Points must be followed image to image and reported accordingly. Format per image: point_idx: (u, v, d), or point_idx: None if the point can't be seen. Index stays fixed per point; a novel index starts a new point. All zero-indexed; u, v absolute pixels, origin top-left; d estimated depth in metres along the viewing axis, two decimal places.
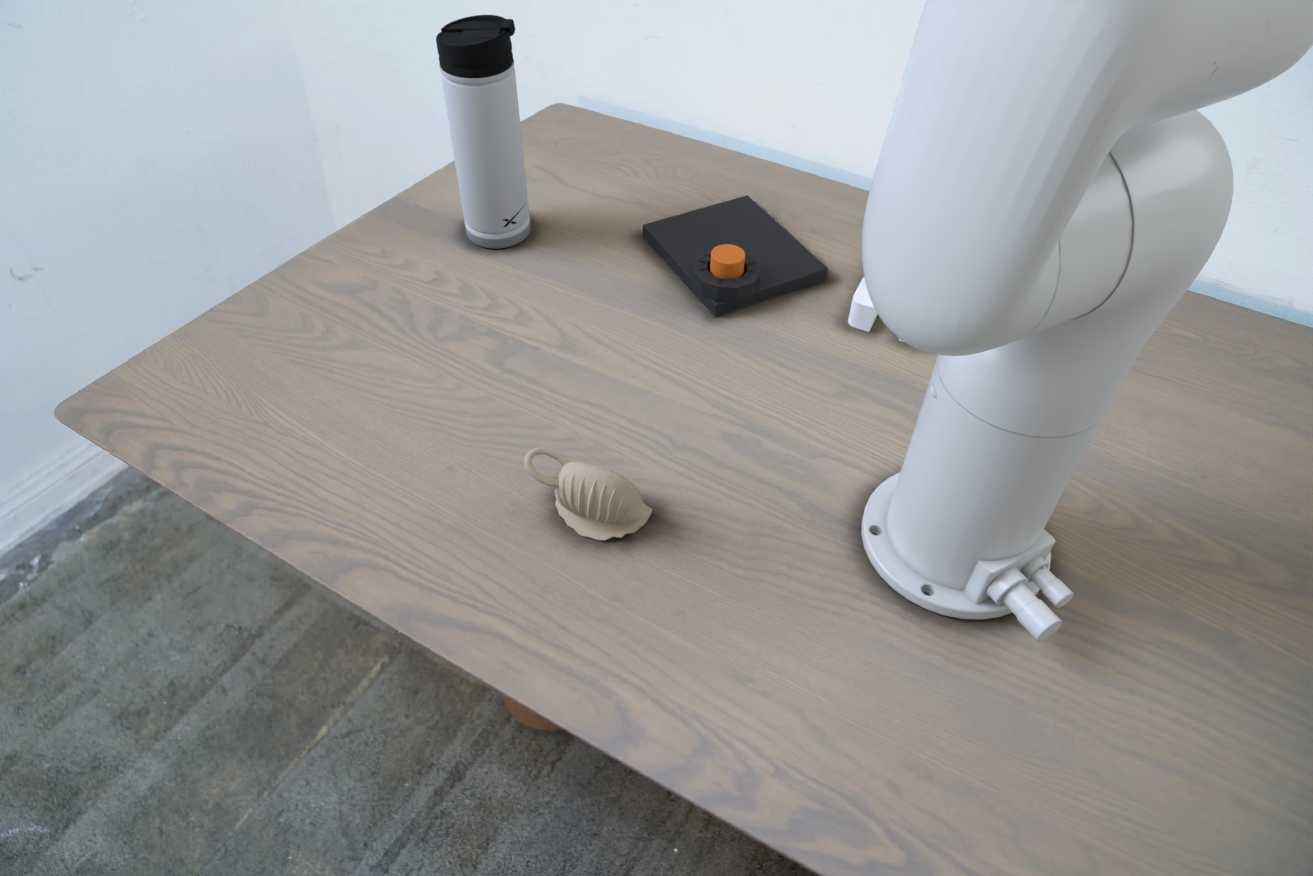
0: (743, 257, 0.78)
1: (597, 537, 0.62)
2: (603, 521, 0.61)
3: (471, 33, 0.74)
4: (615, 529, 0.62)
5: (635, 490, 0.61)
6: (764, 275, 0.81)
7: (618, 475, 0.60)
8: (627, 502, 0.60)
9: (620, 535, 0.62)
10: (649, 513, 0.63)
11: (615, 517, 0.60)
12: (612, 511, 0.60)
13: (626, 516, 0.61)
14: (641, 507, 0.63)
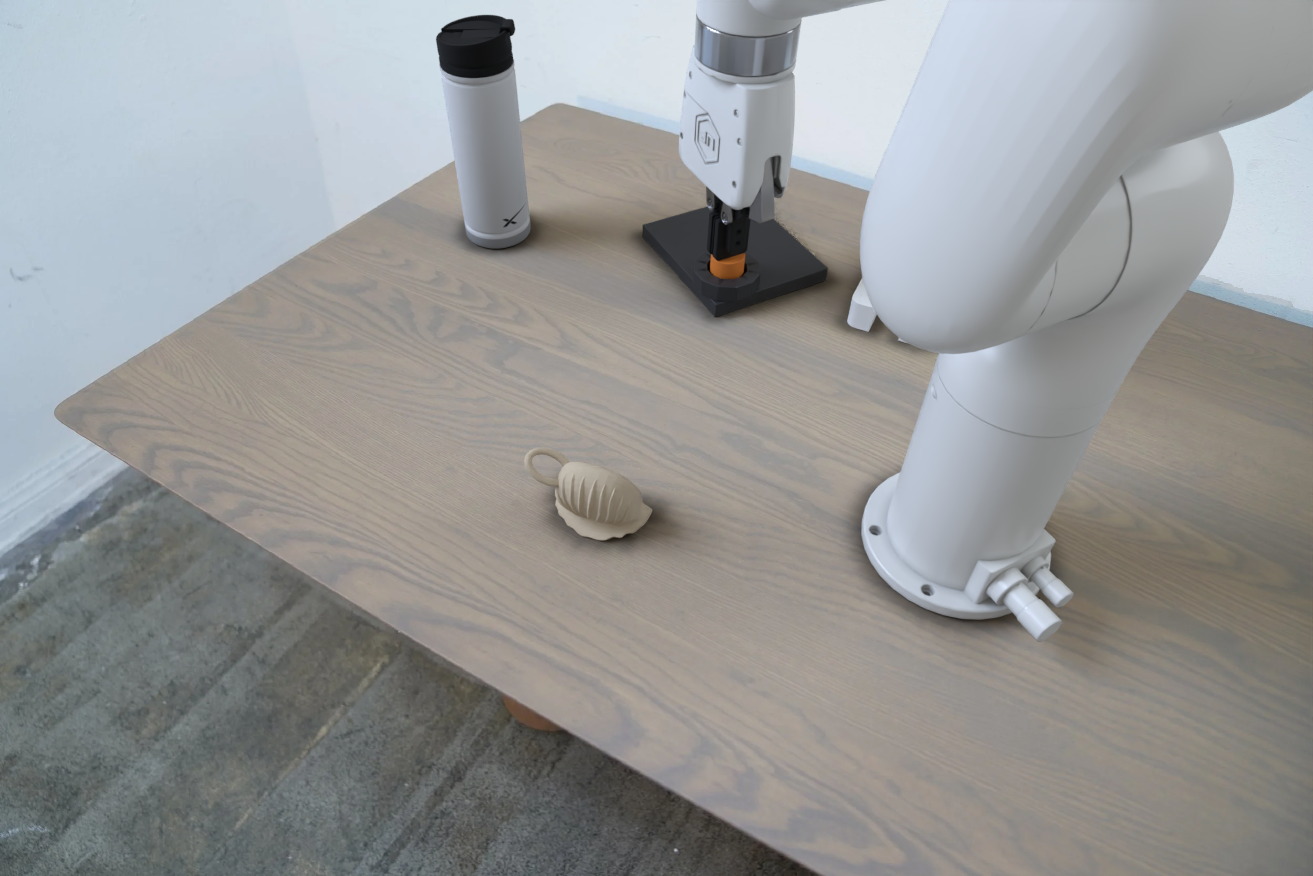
0: (743, 257, 0.78)
1: (597, 537, 0.62)
2: (603, 521, 0.61)
3: (471, 33, 0.74)
4: (615, 529, 0.62)
5: (635, 490, 0.61)
6: (764, 275, 0.81)
7: (618, 475, 0.60)
8: (627, 502, 0.60)
9: (620, 535, 0.62)
10: (649, 513, 0.63)
11: (615, 517, 0.60)
12: (612, 511, 0.60)
13: (626, 516, 0.61)
14: (641, 507, 0.63)
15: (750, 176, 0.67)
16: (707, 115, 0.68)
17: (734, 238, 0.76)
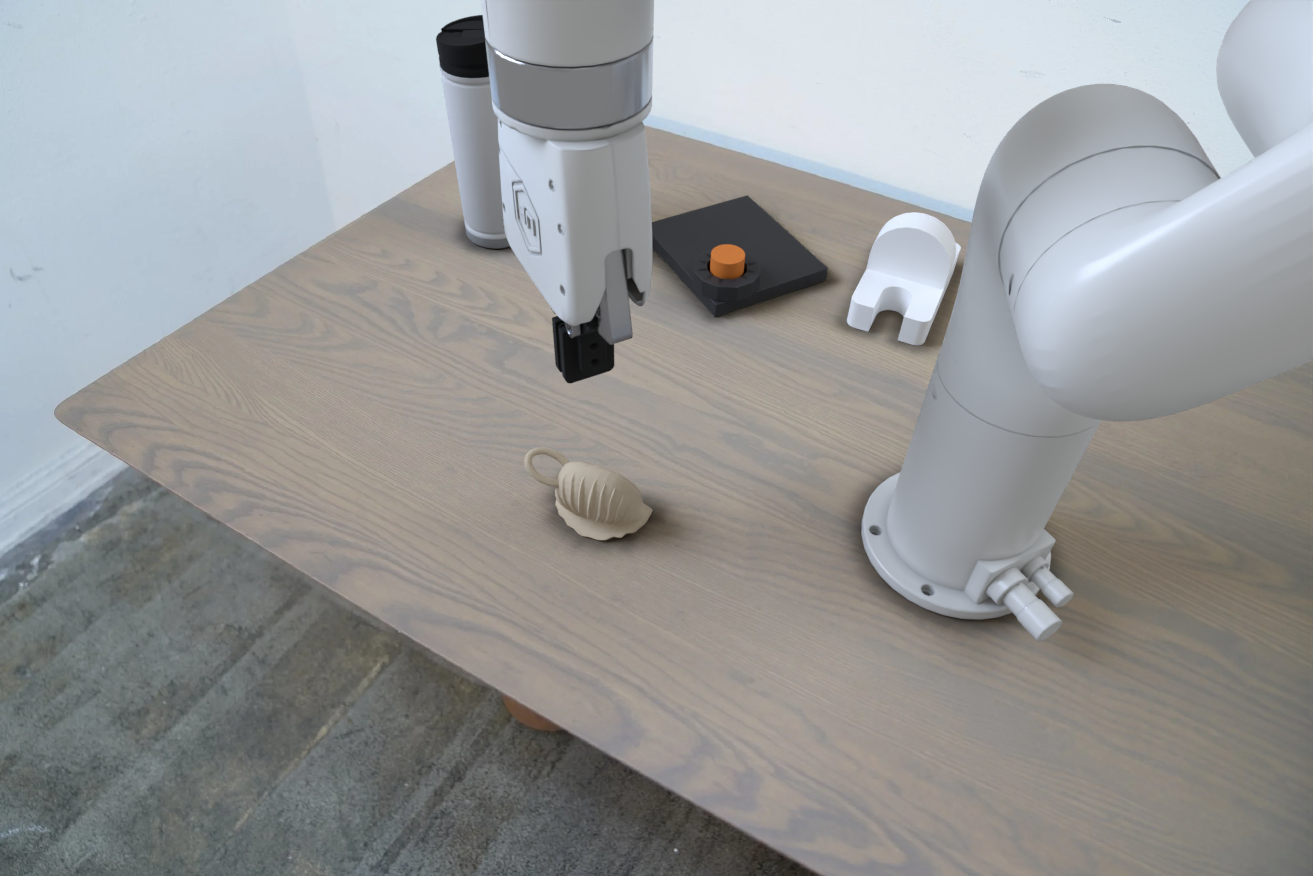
0: (743, 257, 0.78)
1: (597, 537, 0.62)
2: (603, 521, 0.61)
3: (471, 33, 0.74)
4: (615, 529, 0.62)
5: (635, 490, 0.61)
6: (764, 275, 0.81)
7: (618, 475, 0.60)
8: (627, 502, 0.60)
9: (620, 535, 0.62)
10: (649, 513, 0.63)
11: (615, 517, 0.60)
12: (612, 511, 0.60)
13: (626, 516, 0.61)
14: (641, 507, 0.63)
15: (583, 280, 0.43)
16: (522, 184, 0.44)
17: (588, 355, 0.52)
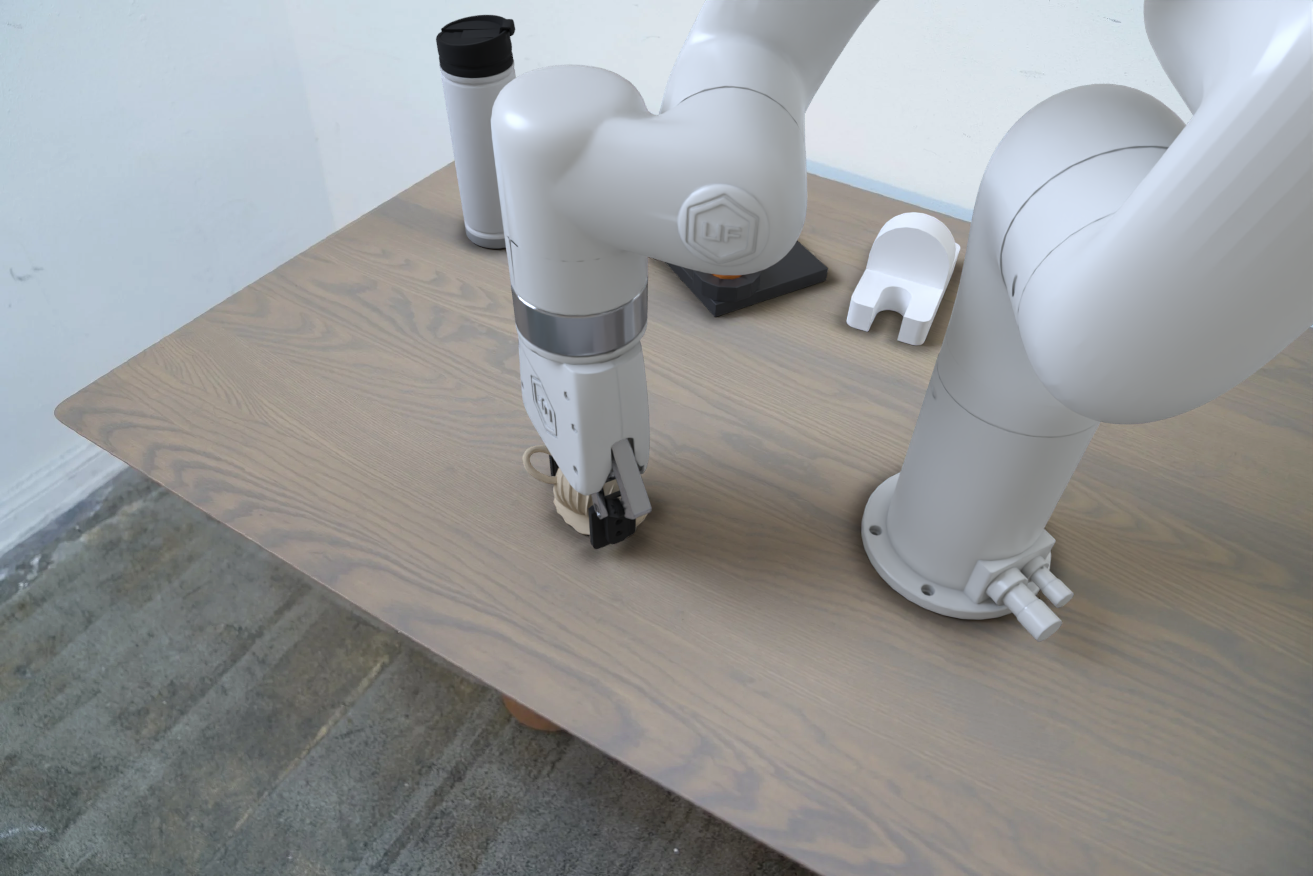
0: None
1: None
2: None
3: (471, 33, 0.74)
4: None
5: None
6: (764, 275, 0.81)
7: None
8: None
9: None
10: None
11: None
12: None
13: None
14: None
15: (593, 464, 0.52)
16: (540, 381, 0.53)
17: (614, 529, 0.59)
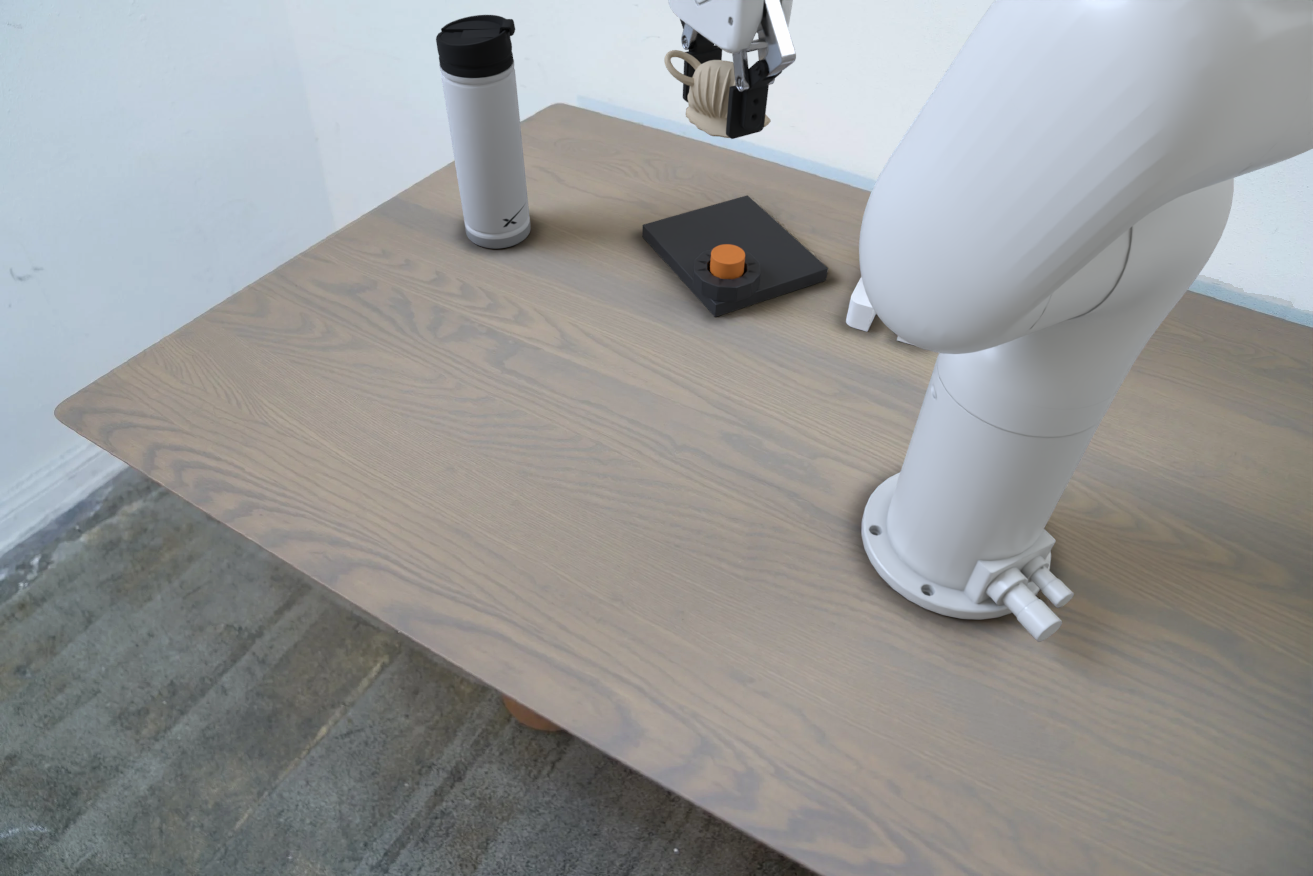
0: (743, 257, 0.78)
1: None
2: None
3: (471, 33, 0.74)
4: None
5: None
6: (764, 275, 0.81)
7: None
8: None
9: None
10: (769, 120, 0.72)
11: None
12: None
13: None
14: None
15: (748, 9, 0.61)
16: None
17: (750, 109, 0.67)
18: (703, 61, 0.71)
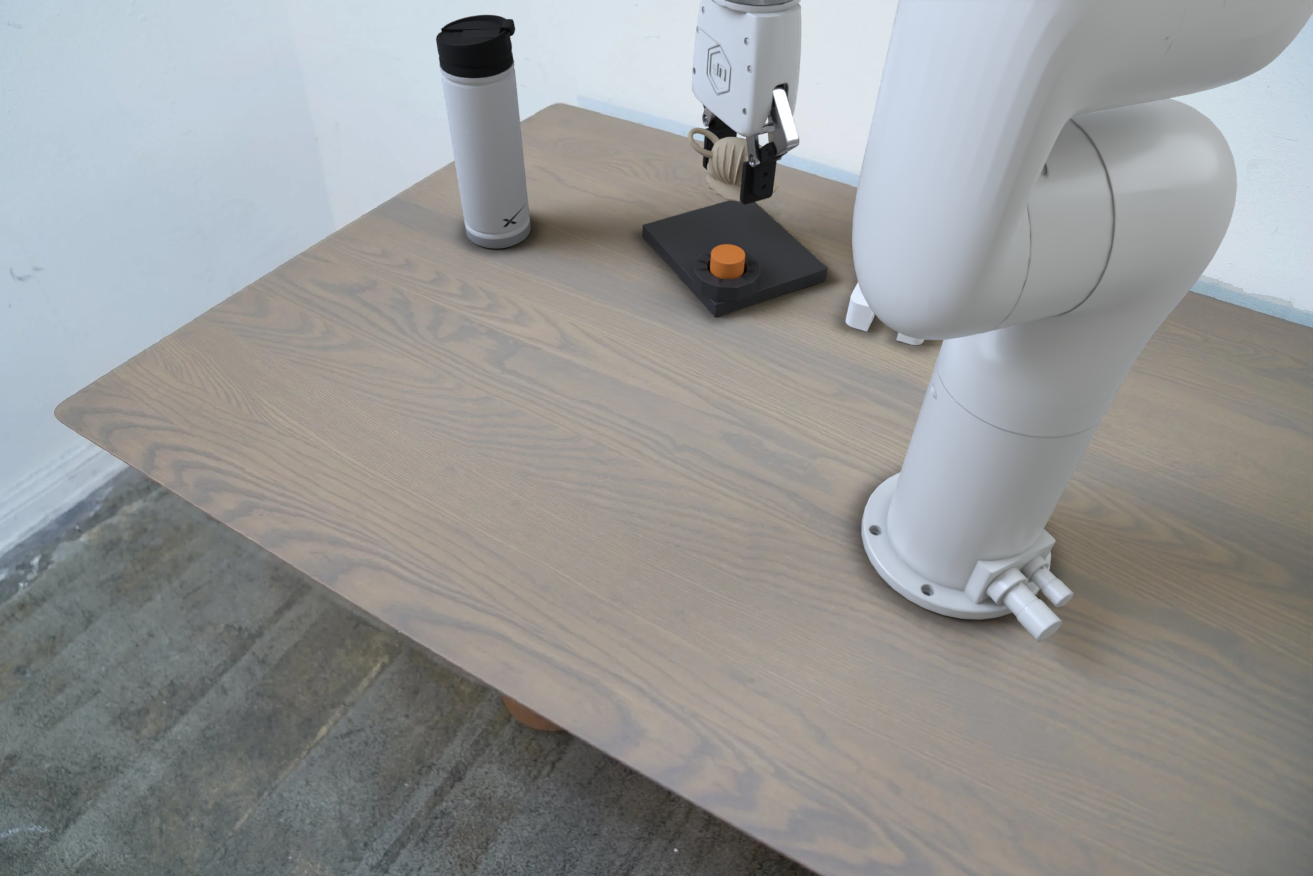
0: (743, 257, 0.78)
1: None
2: None
3: (471, 33, 0.74)
4: None
5: None
6: (764, 275, 0.81)
7: (759, 144, 0.80)
8: None
9: None
10: (777, 186, 0.83)
11: None
12: None
13: None
14: None
15: (759, 103, 0.72)
16: (719, 47, 0.73)
17: (761, 181, 0.79)
18: (721, 136, 0.82)
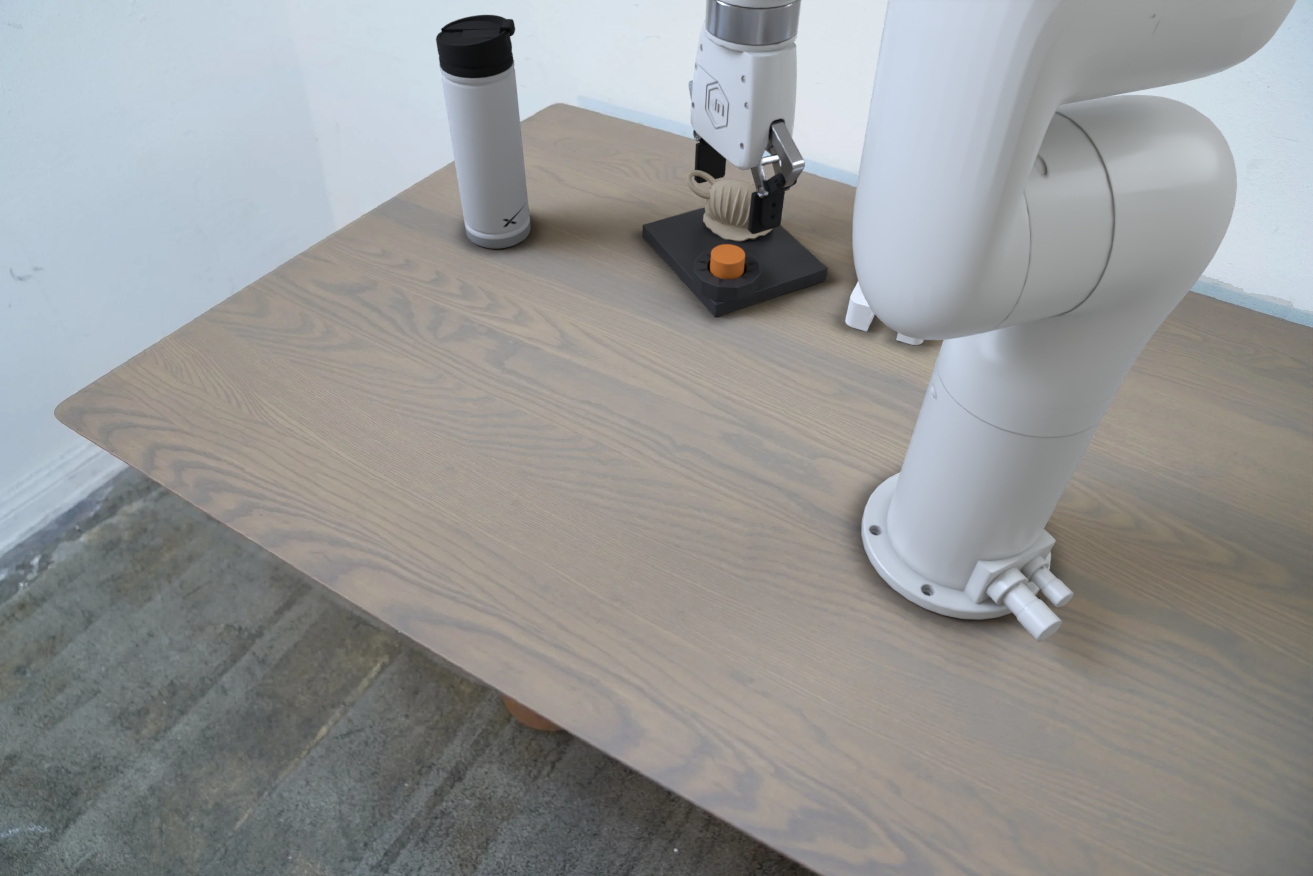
0: (743, 257, 0.78)
1: (737, 239, 0.85)
2: (742, 224, 0.84)
3: (471, 33, 0.74)
4: (750, 232, 0.85)
5: None
6: (764, 275, 0.81)
7: None
8: None
9: (753, 236, 0.85)
10: None
11: None
12: None
13: None
14: None
15: (756, 137, 0.74)
16: (717, 83, 0.75)
17: (769, 211, 0.79)
18: (711, 150, 0.85)
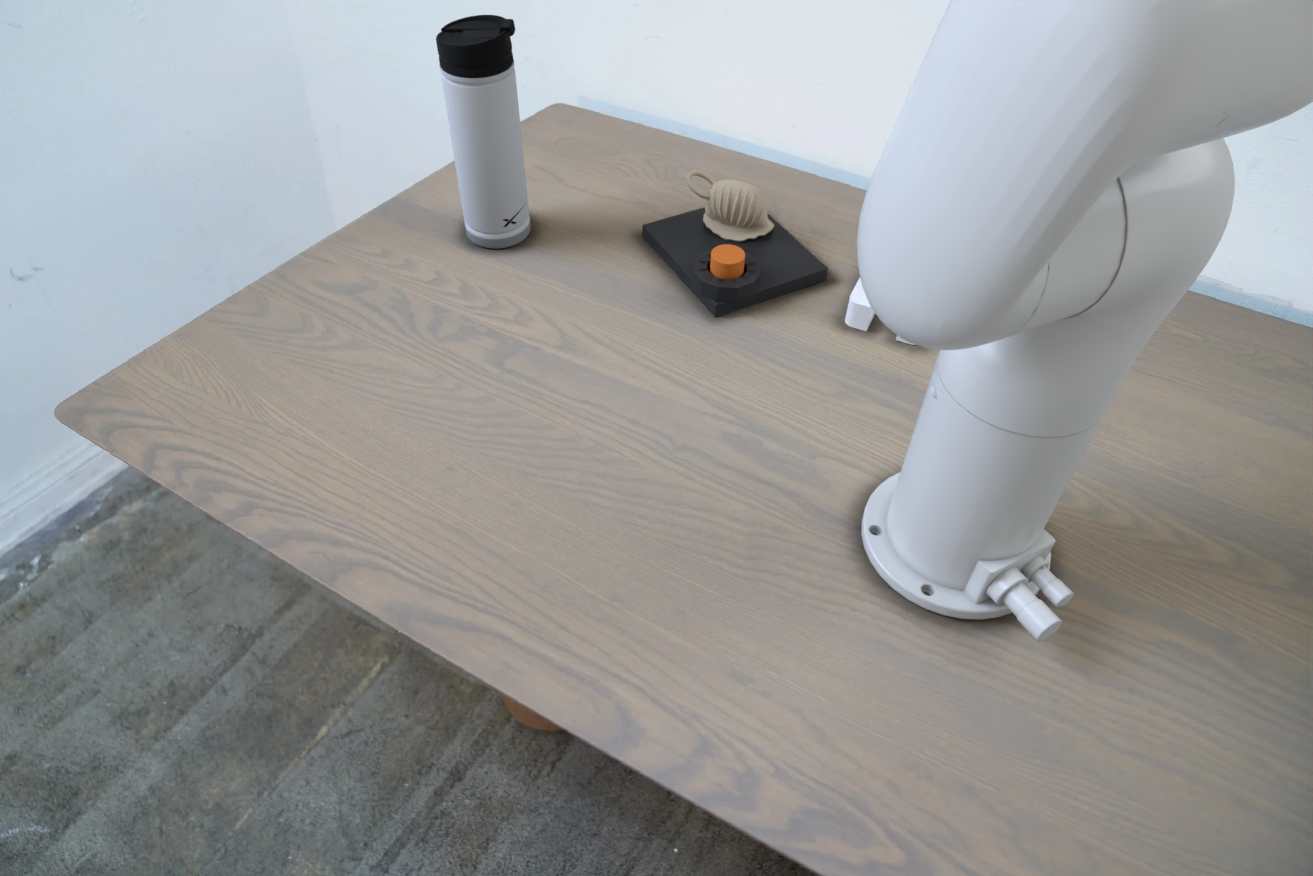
0: (743, 257, 0.78)
1: (737, 239, 0.85)
2: (742, 224, 0.84)
3: (471, 33, 0.74)
4: (750, 232, 0.85)
5: (766, 200, 0.84)
6: (764, 275, 0.81)
7: None
8: (761, 206, 0.83)
9: (753, 236, 0.85)
10: (773, 225, 0.86)
11: (752, 218, 0.83)
12: (750, 213, 0.83)
13: (760, 219, 0.84)
14: (767, 220, 0.86)
15: None
16: None
17: None
18: None
